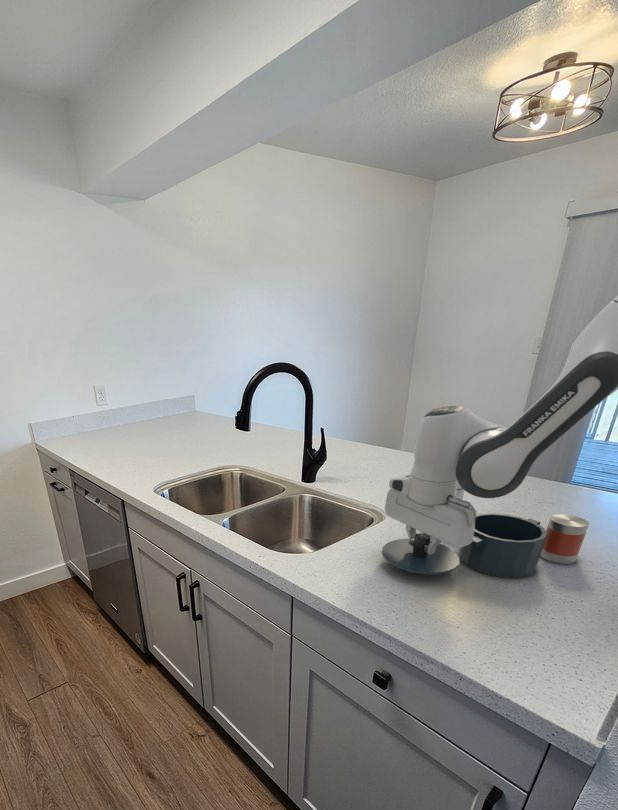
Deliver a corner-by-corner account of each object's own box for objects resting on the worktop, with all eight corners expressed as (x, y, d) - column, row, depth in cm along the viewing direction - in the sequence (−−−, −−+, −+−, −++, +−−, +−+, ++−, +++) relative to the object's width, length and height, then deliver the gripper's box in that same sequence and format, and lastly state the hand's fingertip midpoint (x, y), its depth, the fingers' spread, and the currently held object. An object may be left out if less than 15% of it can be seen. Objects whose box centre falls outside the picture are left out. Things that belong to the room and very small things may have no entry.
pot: (559, 564, 95) (571, 529, 91) (495, 588, 88) (505, 551, 84) (496, 538, 107) (504, 506, 103) (436, 557, 100) (442, 524, 96)
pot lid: (476, 565, 92) (481, 542, 89) (420, 584, 87) (425, 560, 84) (417, 537, 105) (421, 516, 102) (366, 552, 100) (369, 530, 97)
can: (582, 559, 96) (596, 522, 92) (563, 567, 94) (576, 529, 90) (551, 547, 101) (562, 511, 97) (532, 554, 99) (543, 518, 95)
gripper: (489, 502, 81) (473, 566, 87) (405, 473, 98) (397, 528, 104) (465, 508, 79) (450, 573, 85) (383, 478, 96) (376, 534, 102)
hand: (420, 548), depth 95 cm, fingers closed on pot lid, 3 cm apart
